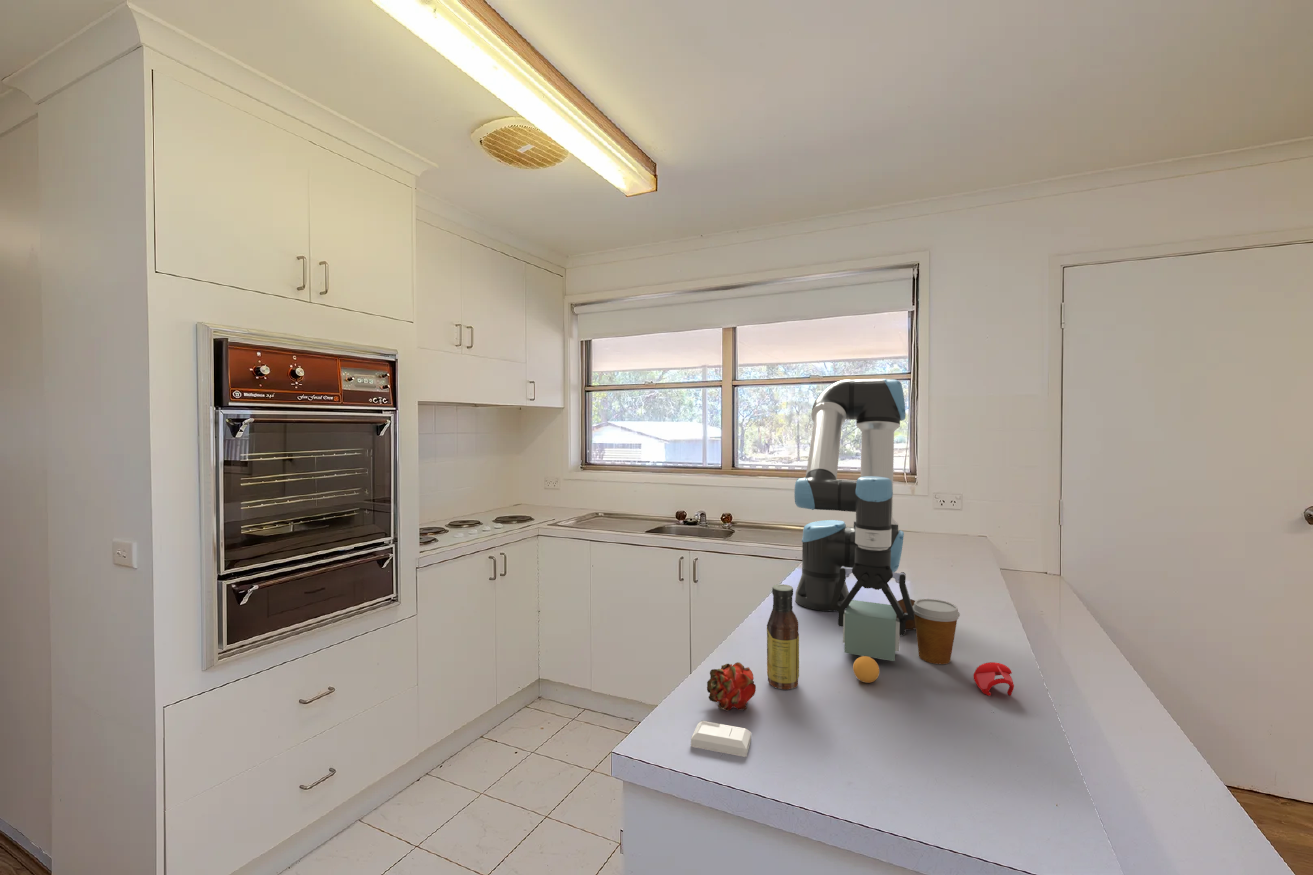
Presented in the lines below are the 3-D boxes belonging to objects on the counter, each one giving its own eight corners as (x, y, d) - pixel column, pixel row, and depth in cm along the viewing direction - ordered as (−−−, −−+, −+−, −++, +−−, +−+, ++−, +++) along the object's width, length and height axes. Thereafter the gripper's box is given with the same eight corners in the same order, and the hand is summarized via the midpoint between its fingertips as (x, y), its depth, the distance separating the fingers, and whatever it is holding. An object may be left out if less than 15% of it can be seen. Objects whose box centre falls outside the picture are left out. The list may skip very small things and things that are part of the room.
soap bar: (746, 760, 90) (746, 743, 90) (690, 749, 93) (691, 733, 93) (751, 742, 95) (751, 727, 95) (698, 733, 98) (698, 718, 98)
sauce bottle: (778, 674, 119) (779, 579, 118) (805, 684, 115) (806, 586, 114) (759, 684, 114) (761, 586, 114) (786, 695, 110) (788, 593, 109)
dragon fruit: (709, 727, 102) (741, 709, 111) (746, 710, 98) (776, 693, 107) (689, 679, 105) (722, 666, 115) (724, 661, 101) (755, 649, 111)
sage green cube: (849, 636, 135) (849, 599, 135) (896, 643, 131) (896, 605, 130) (844, 652, 126) (845, 613, 125) (894, 661, 121) (895, 620, 121)
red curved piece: (1028, 685, 108) (1013, 657, 113) (1002, 677, 107) (987, 649, 112) (999, 707, 112) (985, 679, 117) (973, 699, 111) (961, 671, 116)
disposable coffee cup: (964, 669, 121) (966, 614, 121) (916, 665, 123) (917, 610, 123) (951, 651, 131) (952, 599, 130) (906, 647, 133) (907, 596, 132)
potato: (924, 627, 145) (925, 596, 145) (918, 640, 137) (919, 607, 137) (893, 621, 149) (894, 591, 149) (886, 633, 141) (886, 602, 141)
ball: (854, 673, 119) (854, 650, 119) (879, 678, 117) (880, 654, 117) (851, 684, 115) (852, 659, 114) (878, 689, 113) (878, 664, 112)
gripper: (817, 544, 129) (815, 642, 129) (930, 555, 119) (927, 660, 120) (822, 538, 135) (820, 630, 136) (929, 548, 126) (926, 647, 127)
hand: (870, 644), depth 128 cm, fingers closed on sage green cube, 10 cm apart
